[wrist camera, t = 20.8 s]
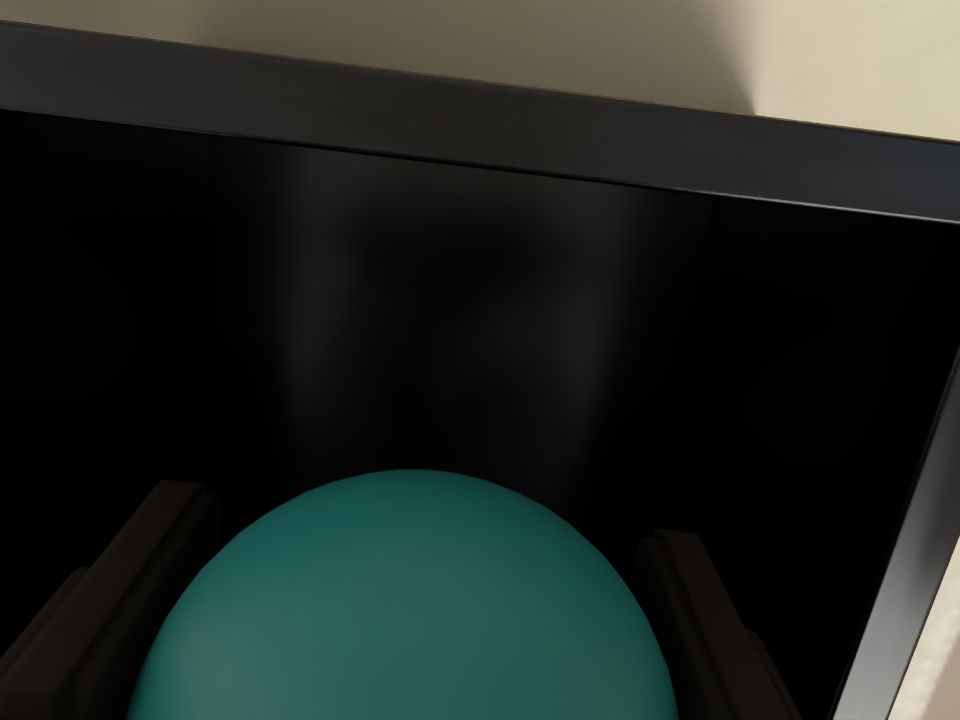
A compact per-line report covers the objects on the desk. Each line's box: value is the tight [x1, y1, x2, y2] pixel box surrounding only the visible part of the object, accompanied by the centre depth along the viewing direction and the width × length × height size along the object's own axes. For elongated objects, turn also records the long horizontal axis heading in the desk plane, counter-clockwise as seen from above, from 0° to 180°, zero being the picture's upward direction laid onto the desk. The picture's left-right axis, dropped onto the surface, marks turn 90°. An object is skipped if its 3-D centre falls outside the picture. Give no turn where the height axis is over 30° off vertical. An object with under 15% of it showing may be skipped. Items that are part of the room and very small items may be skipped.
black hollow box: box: [0, 20, 960, 720], centre depth 16 cm, size 17×14×11 cm
